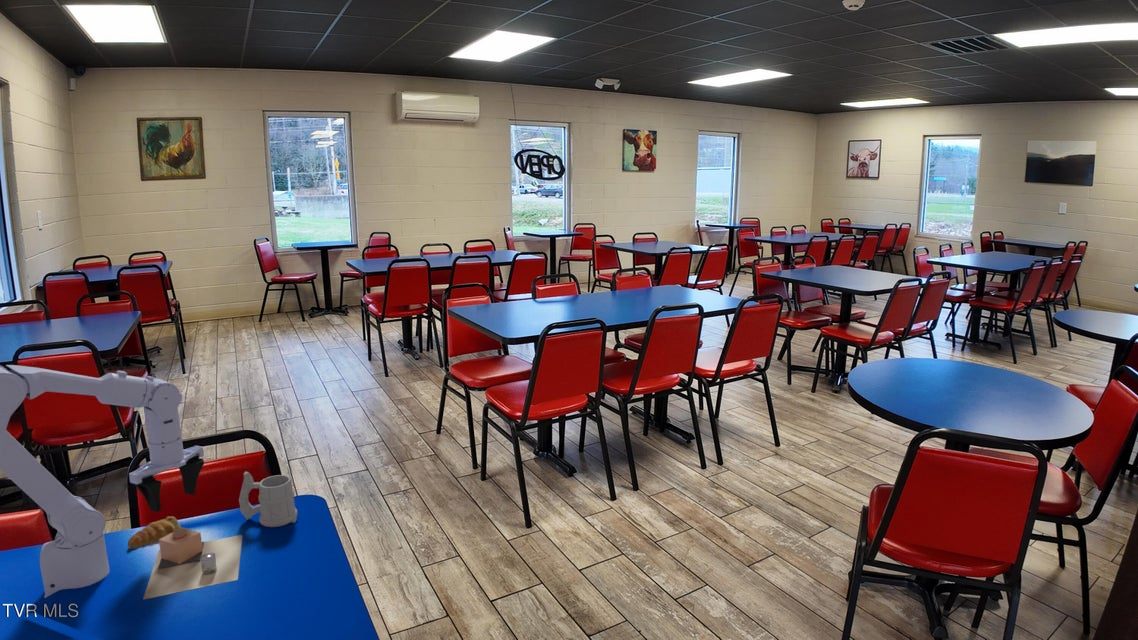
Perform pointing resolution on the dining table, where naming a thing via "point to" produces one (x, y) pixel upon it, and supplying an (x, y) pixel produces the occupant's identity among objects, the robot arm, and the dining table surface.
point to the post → (208, 563)
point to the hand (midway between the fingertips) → (173, 501)
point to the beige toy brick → (180, 545)
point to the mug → (270, 500)
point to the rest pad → (195, 558)
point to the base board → (197, 570)
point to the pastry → (154, 532)
